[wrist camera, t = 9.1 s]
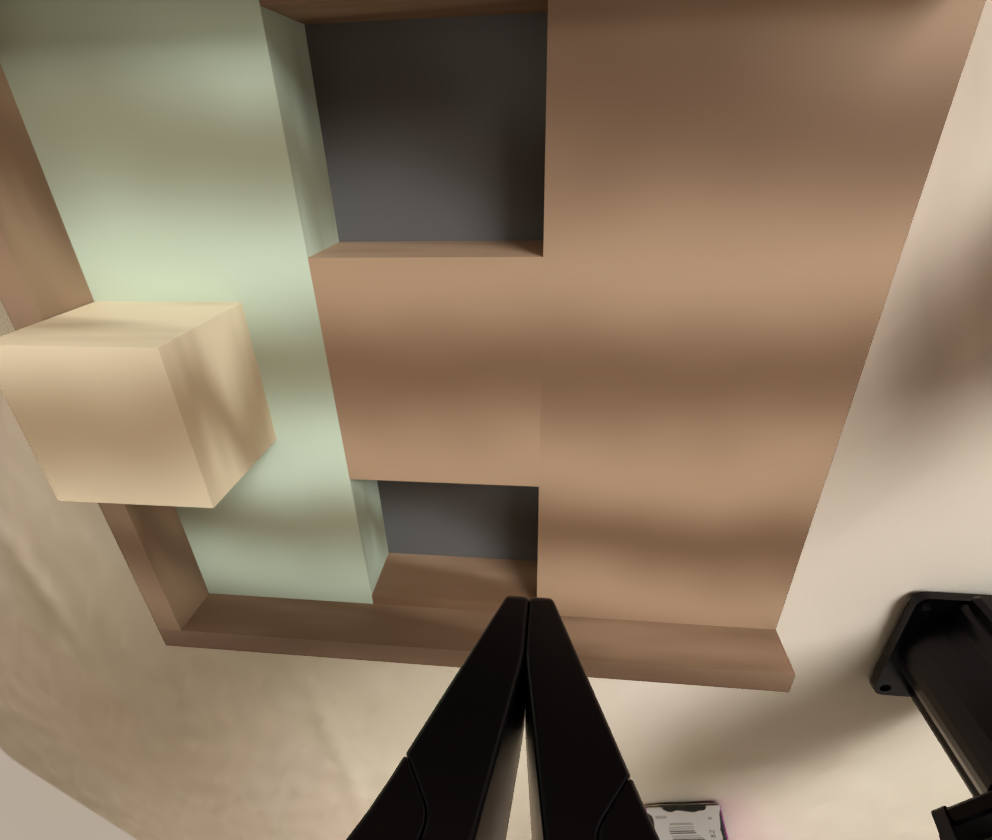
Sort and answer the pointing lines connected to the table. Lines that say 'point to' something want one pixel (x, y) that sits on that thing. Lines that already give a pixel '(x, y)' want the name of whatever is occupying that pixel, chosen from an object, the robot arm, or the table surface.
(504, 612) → the robot arm
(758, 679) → the box
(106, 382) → the maple block
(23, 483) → the table surface
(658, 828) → the candy bar box
